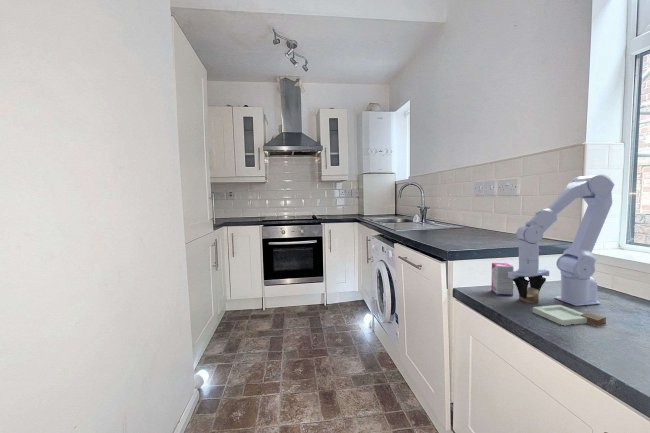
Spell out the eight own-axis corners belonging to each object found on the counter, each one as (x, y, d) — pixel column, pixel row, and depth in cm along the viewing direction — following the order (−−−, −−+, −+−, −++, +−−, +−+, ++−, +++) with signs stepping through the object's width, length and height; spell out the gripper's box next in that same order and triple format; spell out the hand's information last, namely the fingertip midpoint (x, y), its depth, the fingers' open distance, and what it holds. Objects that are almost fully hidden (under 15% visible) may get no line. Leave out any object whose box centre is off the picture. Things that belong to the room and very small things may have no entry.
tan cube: (528, 298, 101) (528, 286, 101) (538, 302, 97) (538, 289, 97) (519, 299, 101) (519, 287, 100) (528, 303, 97) (528, 290, 97)
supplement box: (514, 296, 104) (513, 266, 104) (496, 295, 105) (496, 266, 105) (507, 291, 110) (507, 262, 109) (490, 290, 111) (490, 262, 110)
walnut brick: (588, 318, 83) (588, 311, 83) (605, 324, 79) (606, 317, 79) (580, 321, 82) (580, 314, 81) (598, 327, 78) (598, 320, 78)
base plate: (560, 309, 90) (560, 304, 90) (593, 322, 80) (593, 317, 80) (532, 312, 89) (532, 307, 89) (562, 325, 79) (562, 320, 79)
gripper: (537, 255, 103) (537, 291, 104) (501, 258, 101) (501, 294, 102) (554, 259, 96) (554, 298, 97) (516, 262, 94) (517, 301, 95)
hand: (528, 296), depth 99 cm, fingers closed on tan cube, 4 cm apart
